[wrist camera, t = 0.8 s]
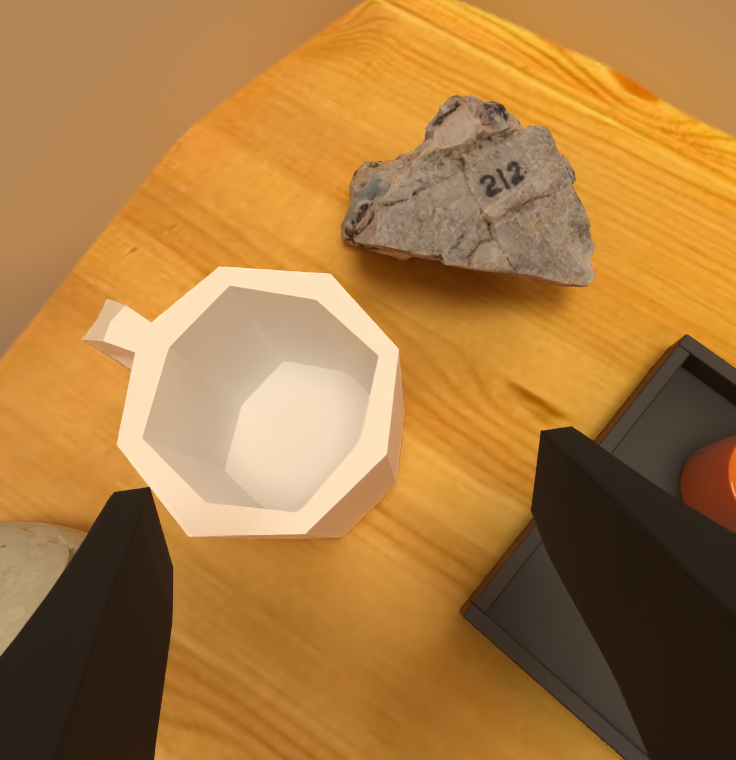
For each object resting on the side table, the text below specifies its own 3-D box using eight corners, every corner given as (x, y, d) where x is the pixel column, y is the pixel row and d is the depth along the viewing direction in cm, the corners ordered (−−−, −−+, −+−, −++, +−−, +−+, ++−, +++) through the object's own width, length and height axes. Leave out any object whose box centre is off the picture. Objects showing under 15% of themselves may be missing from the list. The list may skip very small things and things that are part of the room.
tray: (668, 348, 29) (687, 333, 27) (885, 504, 27) (924, 501, 25) (458, 610, 27) (462, 616, 25) (675, 801, 25) (698, 824, 23)
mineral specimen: (458, 228, 36) (394, 378, 32) (358, 111, 32) (268, 264, 28) (628, 162, 29) (578, 344, 25) (528, 3, 25) (445, 184, 21)
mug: (438, 398, 29) (449, 327, 20) (348, 583, 28) (312, 604, 18) (202, 287, 31) (108, 173, 22) (105, 454, 30) (-42, 411, 20)
